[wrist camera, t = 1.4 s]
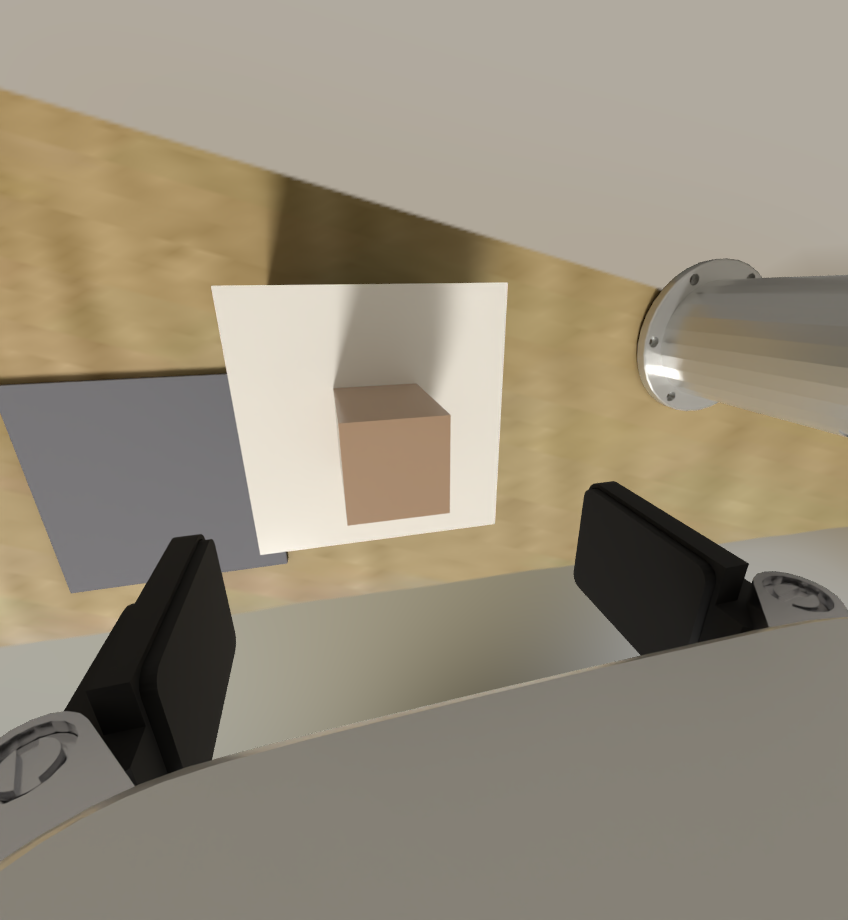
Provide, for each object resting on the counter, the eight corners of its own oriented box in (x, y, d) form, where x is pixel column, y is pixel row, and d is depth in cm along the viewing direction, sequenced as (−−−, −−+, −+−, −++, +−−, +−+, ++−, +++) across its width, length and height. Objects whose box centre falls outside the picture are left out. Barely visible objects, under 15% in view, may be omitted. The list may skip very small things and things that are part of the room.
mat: (258, 371, 30) (257, 372, 30) (287, 560, 36) (287, 563, 36) (-6, 385, 27) (-11, 386, 27) (73, 589, 33) (70, 593, 33)
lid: (490, 283, 22) (577, 278, 15) (481, 506, 27) (544, 588, 19) (222, 286, 19) (161, 282, 12) (265, 533, 24) (241, 640, 17)
